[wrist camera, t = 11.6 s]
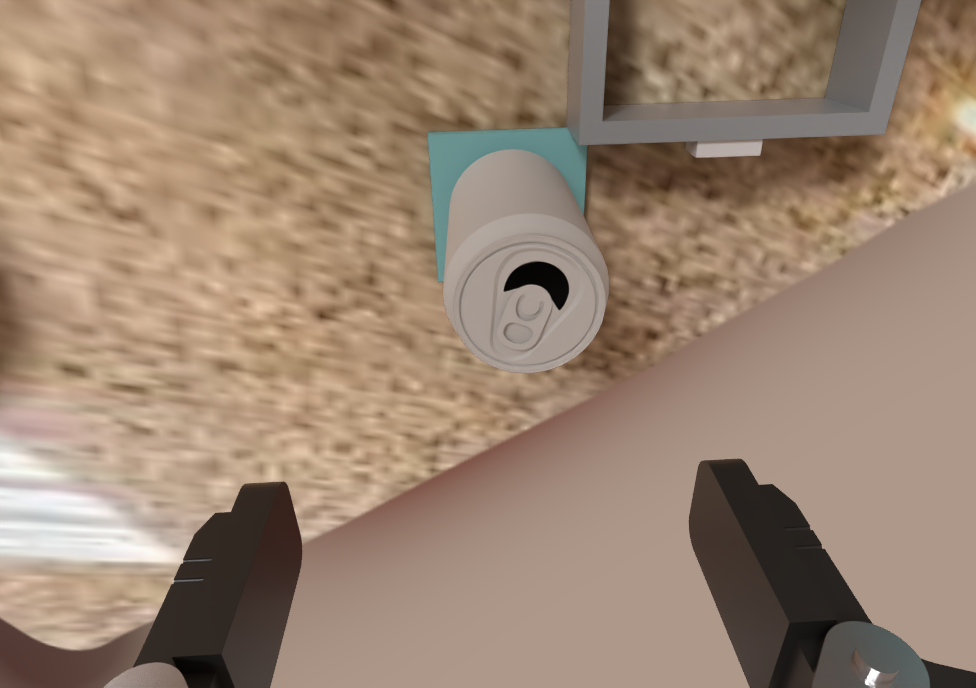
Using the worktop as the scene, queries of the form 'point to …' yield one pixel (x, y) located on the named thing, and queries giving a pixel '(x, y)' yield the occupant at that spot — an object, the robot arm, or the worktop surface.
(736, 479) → the robot arm
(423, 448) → the worktop surface
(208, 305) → the worktop surface
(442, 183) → the pad
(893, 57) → the case
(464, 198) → the beverage can
